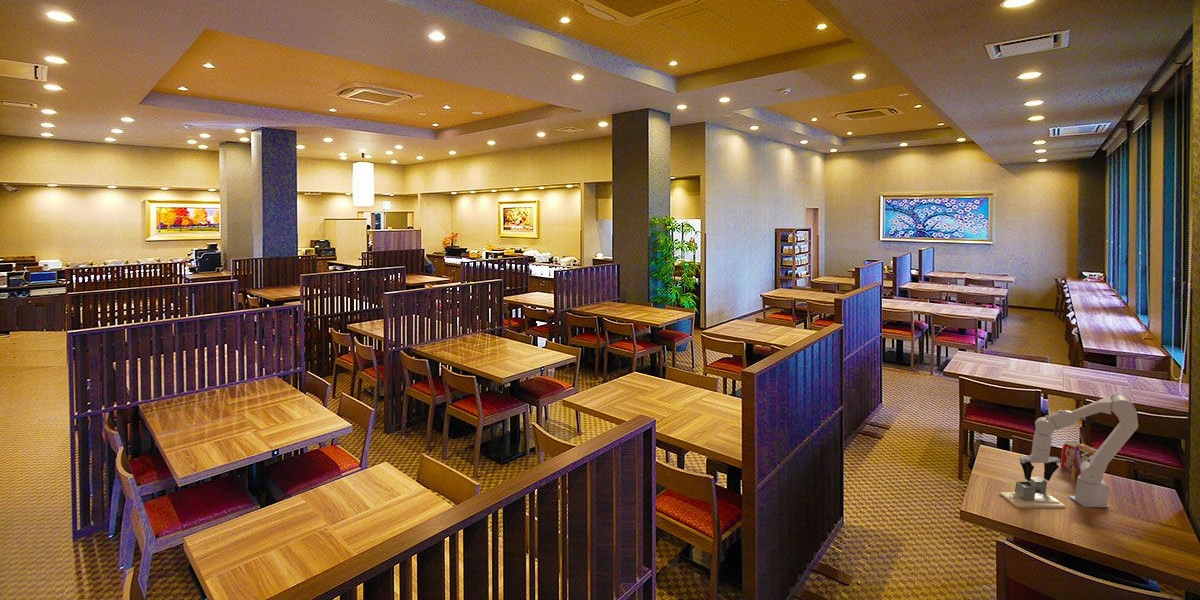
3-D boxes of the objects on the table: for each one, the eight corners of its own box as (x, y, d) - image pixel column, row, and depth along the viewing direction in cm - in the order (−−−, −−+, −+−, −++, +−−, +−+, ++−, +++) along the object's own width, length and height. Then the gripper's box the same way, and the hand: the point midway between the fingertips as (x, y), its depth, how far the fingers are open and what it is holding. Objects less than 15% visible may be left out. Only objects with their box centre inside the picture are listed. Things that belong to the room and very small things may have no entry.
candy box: (1100, 487, 239) (1105, 452, 237) (1091, 488, 238) (1097, 453, 236) (1078, 477, 248) (1083, 443, 245) (1070, 478, 247) (1075, 444, 244)
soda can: (1084, 474, 251) (1088, 447, 249) (1065, 472, 252) (1069, 446, 250) (1074, 467, 258) (1078, 441, 256) (1056, 465, 259) (1059, 439, 257)
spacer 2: (1037, 488, 239) (1038, 476, 238) (1045, 493, 234) (1047, 482, 234) (1026, 488, 239) (1027, 476, 238) (1034, 493, 235) (1035, 481, 234)
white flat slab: (1045, 493, 232) (1045, 492, 232) (1059, 503, 225) (1059, 501, 225) (1012, 493, 232) (1012, 492, 232) (1024, 502, 225) (1024, 501, 225)
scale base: (1045, 495, 233) (1046, 491, 233) (1065, 507, 223) (1065, 504, 223) (999, 494, 234) (1000, 491, 233) (1017, 507, 224) (1017, 504, 223)
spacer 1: (1014, 493, 231) (1016, 481, 230) (1025, 493, 231) (1027, 481, 230) (1022, 499, 226) (1024, 487, 226) (1034, 499, 227) (1035, 487, 226)
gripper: (1052, 443, 237) (1047, 475, 240) (1016, 443, 238) (1011, 474, 240) (1065, 451, 231) (1061, 483, 233) (1028, 450, 231) (1023, 482, 233)
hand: (1036, 479), depth 236 cm, fingers open, 7 cm apart
